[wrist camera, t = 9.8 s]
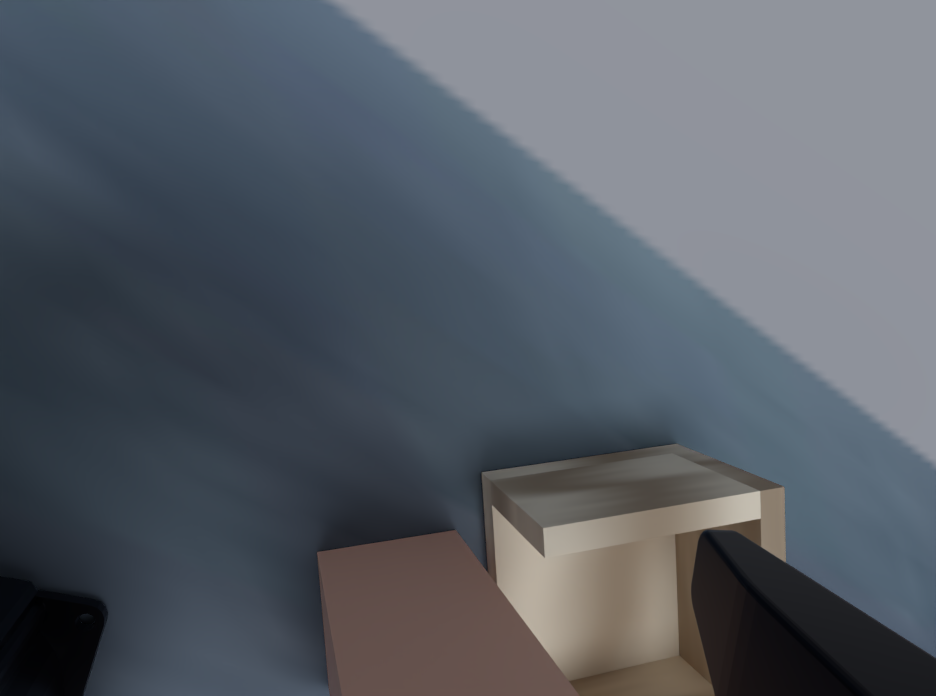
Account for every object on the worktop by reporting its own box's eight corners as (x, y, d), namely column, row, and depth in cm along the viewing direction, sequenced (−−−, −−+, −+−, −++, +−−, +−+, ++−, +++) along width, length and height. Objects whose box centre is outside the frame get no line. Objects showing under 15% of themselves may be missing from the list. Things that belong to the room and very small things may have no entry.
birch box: (496, 701, 24) (559, 818, 19) (481, 472, 23) (543, 528, 18) (683, 657, 26) (788, 752, 21) (676, 443, 25) (784, 486, 20)
